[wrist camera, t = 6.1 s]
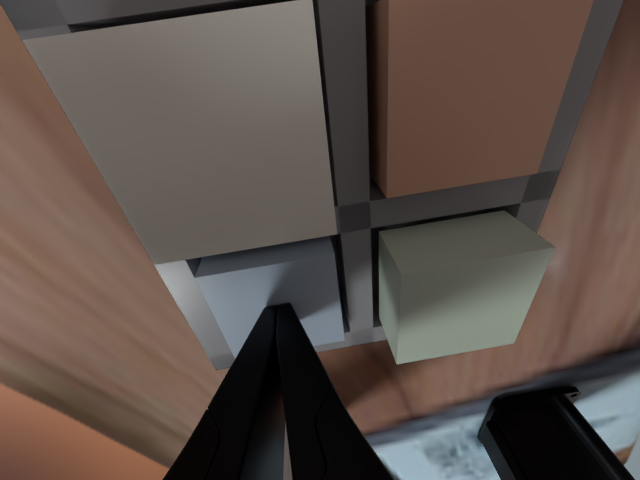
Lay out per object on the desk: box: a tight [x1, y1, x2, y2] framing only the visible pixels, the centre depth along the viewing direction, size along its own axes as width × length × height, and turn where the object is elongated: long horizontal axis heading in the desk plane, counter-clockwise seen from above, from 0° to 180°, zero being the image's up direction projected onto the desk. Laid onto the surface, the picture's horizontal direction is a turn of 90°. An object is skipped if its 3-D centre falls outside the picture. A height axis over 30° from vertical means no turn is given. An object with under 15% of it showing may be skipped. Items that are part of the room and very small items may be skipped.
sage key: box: [379, 210, 555, 364], centre depth 9 cm, size 4×4×2 cm
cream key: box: [22, 0, 337, 265], centre depth 6 cm, size 4×4×2 cm
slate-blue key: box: [195, 236, 345, 358], centre depth 10 cm, size 4×4×2 cm
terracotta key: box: [365, 0, 594, 198], centre depth 7 cm, size 4×4×2 cm
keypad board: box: [0, 0, 624, 370], centre depth 9 cm, size 14×13×2 cm
